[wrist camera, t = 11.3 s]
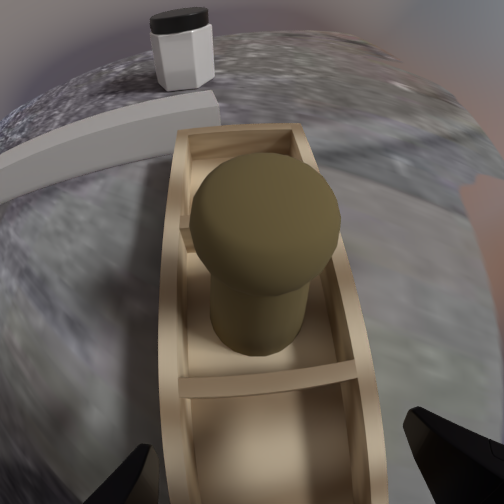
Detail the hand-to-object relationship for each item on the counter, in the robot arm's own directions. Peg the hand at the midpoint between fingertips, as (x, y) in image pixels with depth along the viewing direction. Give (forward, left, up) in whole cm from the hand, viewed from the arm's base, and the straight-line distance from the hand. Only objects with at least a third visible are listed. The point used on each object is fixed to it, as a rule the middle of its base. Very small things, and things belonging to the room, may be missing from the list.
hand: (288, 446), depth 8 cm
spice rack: (+7, -2, -8) cm, 11 cm away
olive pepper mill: (+7, -2, -8) cm, 11 cm away
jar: (+44, -4, -9) cm, 45 cm away
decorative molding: (+33, +12, -9) cm, 36 cm away
